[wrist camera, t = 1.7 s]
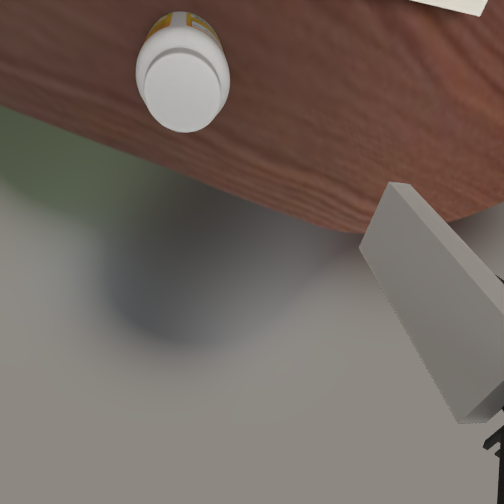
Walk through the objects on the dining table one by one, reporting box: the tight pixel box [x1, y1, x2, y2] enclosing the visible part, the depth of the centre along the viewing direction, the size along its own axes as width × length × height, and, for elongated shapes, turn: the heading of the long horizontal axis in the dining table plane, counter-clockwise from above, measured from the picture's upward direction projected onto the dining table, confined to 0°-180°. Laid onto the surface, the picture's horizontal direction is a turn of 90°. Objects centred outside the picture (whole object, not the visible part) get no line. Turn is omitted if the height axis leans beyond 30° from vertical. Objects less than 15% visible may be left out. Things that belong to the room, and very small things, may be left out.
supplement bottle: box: [136, 11, 230, 133], centre depth 23 cm, size 5×5×10 cm
